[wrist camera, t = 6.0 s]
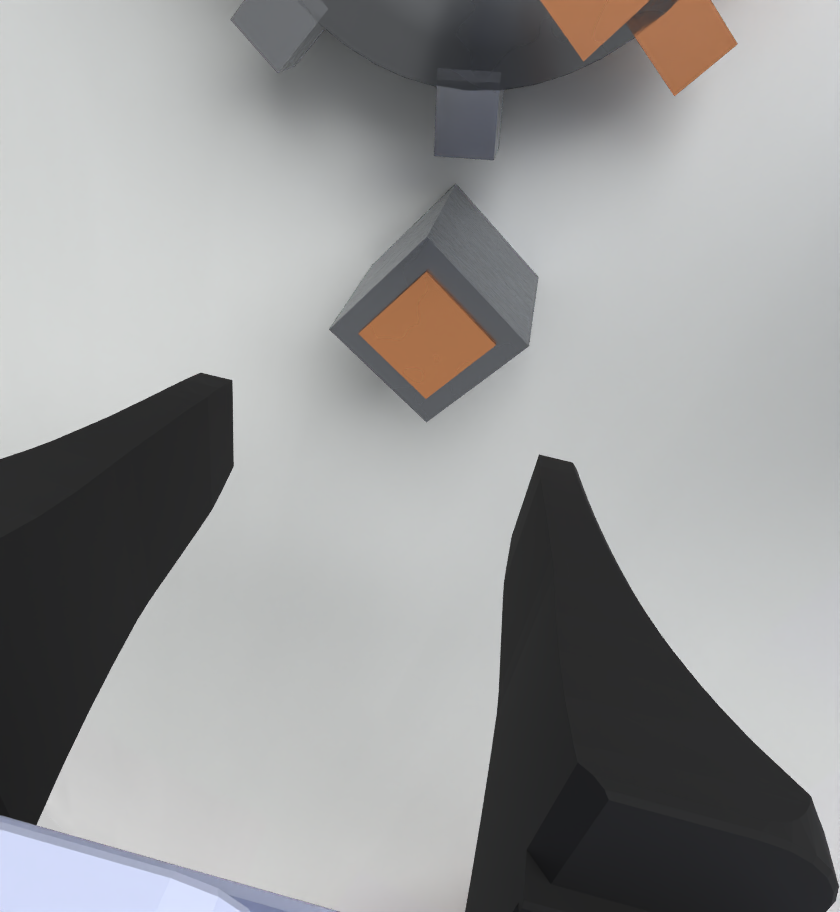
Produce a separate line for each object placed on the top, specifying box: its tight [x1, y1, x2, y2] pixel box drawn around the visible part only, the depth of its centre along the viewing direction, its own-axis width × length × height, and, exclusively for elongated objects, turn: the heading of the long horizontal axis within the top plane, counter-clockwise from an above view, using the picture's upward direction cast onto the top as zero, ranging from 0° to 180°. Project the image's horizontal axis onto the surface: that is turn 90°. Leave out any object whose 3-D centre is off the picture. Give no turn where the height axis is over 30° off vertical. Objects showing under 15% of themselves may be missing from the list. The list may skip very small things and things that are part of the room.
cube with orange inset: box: [329, 184, 538, 422], centre depth 18 cm, size 4×4×4 cm
